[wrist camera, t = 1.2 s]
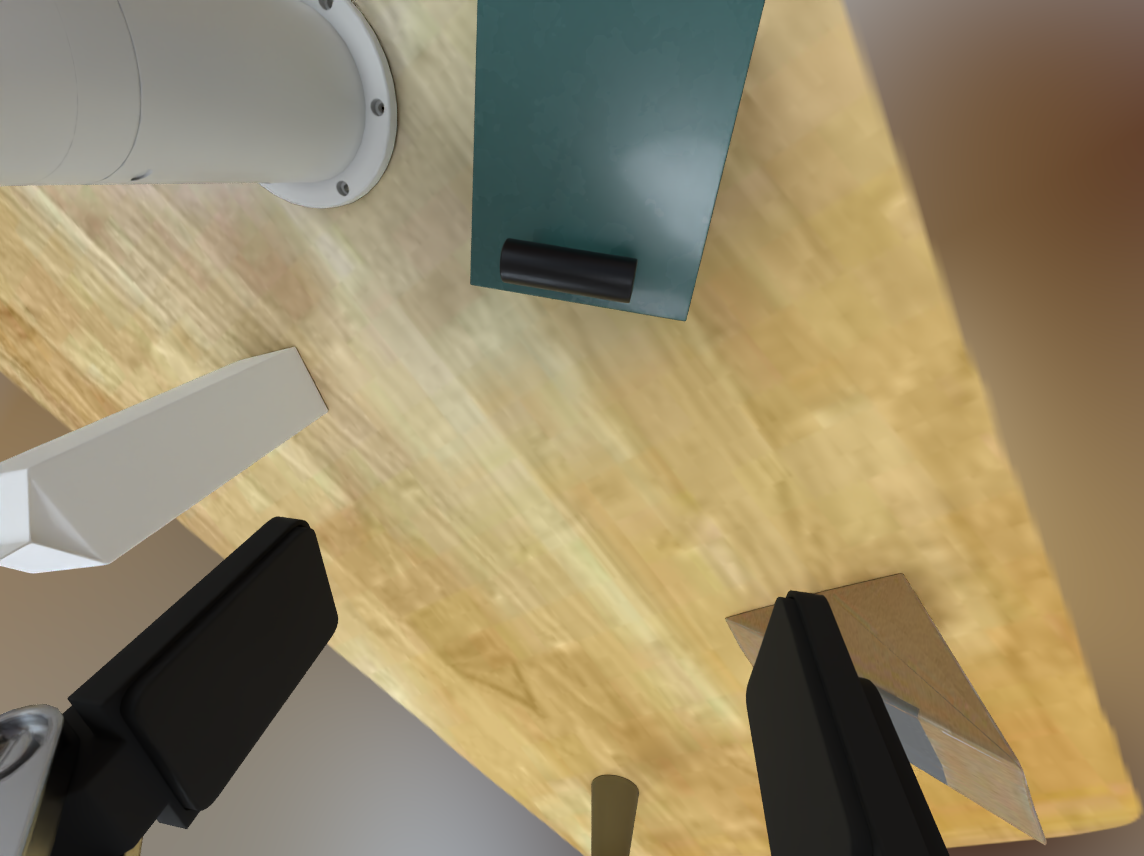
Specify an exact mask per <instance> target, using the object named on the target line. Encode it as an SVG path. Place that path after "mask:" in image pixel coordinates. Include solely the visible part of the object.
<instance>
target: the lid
mask: <svg viewBox="0 0 1144 856" xmlns="http://www.w3.org/2000/svg"><path fill="white" fill-rule="evenodd" d="M764 3H765V0H478V3H477V42H476V81H475V121H474V160H473V199H472V238H471V277H470V284H471V285H475V286H481V287H487V288H493V289H498V290H504V291H510V292H516V293H522V294H528V295H534V296H539V297H545V298H551V299H557V300H563V301H569V302H575V303H580V304H586V305H592V306H598V307H604V308H610V309H616V310H621V311H627V312H633V313H639V314H645V315H651V316H657V317H662V318H668V319H674V320H680V321H686V319H687V315H688V311H689V307H690V303H691V299H692V295H693V291H694V287H695V282H696V278H697V274H698V270H699V266H700V262H701V258H702V254H703V250H704V246H705V242H706V238H707V234H708V230H709V226H710V222H711V218H712V214H713V209H714V205H715V201H716V197H717V193H718V189H719V185H720V181H721V177H722V173H723V169H724V165H725V161H726V157H727V153H728V149H729V145H730V141H731V136H732V132H733V128H734V124H735V120H736V116H737V112H738V108H739V104H740V100H741V96H742V92H743V88H744V84H745V80H746V76H747V72H748V68H749V63H750V59H751V55H752V51H753V47H754V43H755V39H756V35H757V31H758V27H759V23H760V19H761V15H762V11H763V7H764Z"/></svg>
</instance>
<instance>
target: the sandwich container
mask: <svg viewBox="0 0 1144 856" xmlns="http://www.w3.org/2000/svg"><path fill="white" fill-rule="evenodd" d="M816 594H819V595H824V596H825V597H826V598H827V600H828V602H829V604H830V607H831V609H832V612H833V614H834V617H835V619H836V622H837V624H838V627H839V629H840V632H841V634H842V637H843V640H844V642H845V645H846V647H847V650H848V652H849V655H850V657H851V660H852V662H853V665H854V667H855V670H856V672H857V675H858V677H862V678H866V679H868V680H870V681H871V682H872V683H873V684H874V685H875V686H876V688H877V689H878V691H879V693H880V695H881V697H882V699H883V702H884V704H885V706H886V709H887V711H888V713H889V716H890V718H891V720H892V723H893V725H894V727H895V730H896V732H897V734H898V737H899V739H900V741H901V744H902V746H903V748H904V751H905V753H906V755H907V758H908V760H909V762H910V763H912V764H913V765H915V766H916V767H918V768H920V769H921V770H923V771H925V772H926V773H928V774H930V775H931V776H933V777H934V778H936V779H938V780H939V781H941V782H943V783H944V784H946V785H948V786H949V787H951V788H952V789H954V790H956V791H957V792H959V793H961V794H962V795H964V796H965V797H967V798H969V799H970V800H972V801H974V802H975V803H977V804H978V805H980V806H982V807H983V808H985V809H987V810H988V811H990V812H992V813H993V814H995V815H996V816H998V817H1000V818H1001V819H1003V820H1005V821H1006V822H1008V823H1009V824H1011V825H1013V826H1014V827H1016V828H1018V829H1019V830H1021V831H1023V832H1024V833H1026V834H1027V835H1029V836H1031V837H1032V838H1034V839H1036V840H1037V841H1039V842H1040V843H1042V844H1044V845H1046V843H1047V842H1046V838H1045V836H1044V833H1043V830H1042V827H1041V825H1040V822H1039V819H1038V816H1037V814H1036V811H1035V808H1034V805H1033V801H1032V798H1031V795H1030V792H1029V788H1028V785H1027V782H1026V779H1025V775H1024V772H1023V769H1022V767H1021V765H1020V763H1019V761H1018V759H1017V757H1016V756H1015V754H1014V752H1013V751H1012V749H1011V748H1010V746H1009V744H1008V743H1007V741H1006V740H1005V738H1004V736H1003V735H1002V733H1001V731H1000V730H999V728H998V727H997V725H996V723H995V722H994V720H993V718H992V717H991V715H990V714H989V712H988V710H987V709H986V707H985V705H984V704H983V702H982V701H981V699H980V697H979V696H978V694H977V692H976V691H975V689H974V688H973V686H972V684H971V683H970V681H969V679H968V678H967V676H966V675H965V673H964V671H963V670H962V668H961V667H960V665H959V663H958V662H957V660H956V658H955V657H954V655H953V654H952V652H951V650H950V649H949V647H948V645H947V644H946V642H945V641H944V639H943V637H942V636H941V634H940V633H939V631H938V629H937V628H936V626H935V624H934V623H933V621H932V620H931V618H930V616H929V615H928V613H927V611H926V610H925V608H924V607H923V605H922V603H921V602H920V600H919V599H918V597H917V595H916V594H915V592H914V591H913V589H912V587H911V586H910V584H909V582H908V581H907V579H906V578H905V576H904V574H897V575H892V576H888V577H884V578H879V579H875V580H871V581H866V582H862V583H858V584H853V585H849V586H845V587H841V588H836V589H832V590H828V591H823V592H820V593H816ZM773 608H774V605H772V606H768V607H765V608H761V609H757V610H753V611H750V612H746V613H742V614H739V615H735V616H731V617H728V618H725V619H726V622H727V623H728V625H729V627H730V629H731V631H732V633H733V635H734V637H735V639H736V640H737V642H738V644H739V646H740V648H741V649H742V651H743V652H744V654H745V655H746V657H747V658H748V660H749V661H750V663H751V664H752V666H753V667H754V664H755V661H756V658H757V655H758V652H759V649H760V647H761V644H762V641H763V638H764V635H765V632H766V629H767V626H768V623H769V620H770V617H771V614H772V611H773Z"/></svg>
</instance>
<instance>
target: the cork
mask: <svg viewBox="0 0 1144 856" xmlns="http://www.w3.org/2000/svg"><path fill="white" fill-rule="evenodd" d="M638 796H639V791H638V788H637V787H636V785H635V784H633V783H632V782H631V781H629V780H627V779H625V778H622V777H619V776H613V775H604V776H600V777H597V778H595V779H594V780H593V782H592V838H591V856H629V853H630V847H631V841H632V834H633V828H634V821H635V815H636V809H637V802H638Z"/></svg>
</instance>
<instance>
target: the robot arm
mask: <svg viewBox="0 0 1144 856" xmlns="http://www.w3.org/2000/svg"><path fill="white" fill-rule="evenodd" d="M332 1H333V5H332ZM383 105H384V108H385V109H384V113H383V112H382V106H383ZM396 131H397V103H396V96H395V89H394V83H393V79H392V75H391V72H390V69H389V66H388V62H387V59H386V56H385V54H384V52H383V50H382V48H381V45H380V43H379V41H378V39H377V37H376V35H375V33H374V31H373V30H372V28H371V27H370V25H369V24H368V22H367V21H366V19H365V17H364V16H363V14H362V13H361V12H360V11H359V9H358V8H357V7H356V6H355V5H354V4H353V3H352V2H351V0H0V186H27V185H114V184H206V183H258V184H260V185H261V186H263V187H264V188H265V189H267V190H268V191H270V192H271V193H272V194H274V195H276V196H278V197H280V198H282V199H284V200H286V201H288V202H290V203H293V204H297V205H300V206H304V207H308V208H331V207H340V206H343V205H346V204H349V203H352V202H354V201H356V200H358V199H359V198H361V197H362V196H364V195H365V194H367V193H368V192H369V191H370V190H371V189H372V188H373V187H374V186H375V185H376V184H377V183H378V181H379V180H380V178H381V176H382V175H383V173H384V171H385V170H386V168H387V166H388V163H389V160H390V157H391V155H392V152H393V149H394V143H395V137H396ZM347 187H349V190H348V188H347ZM337 624H338V614H337V611H336V607H335V603H334V600H333V596H332V592H331V589H330V585H329V581H328V578H327V574H326V570H325V567H324V563H323V559H322V556H321V552H320V548H319V545H318V541H317V537H316V534H315V532H314V530H313V529H311V528H310V526H309V524H308V523H307V522H306V521H305V520H299V519H292V518H285V517H274V518H272V519H271V520H269V521H268V522H267V523H266V524H264V525H263V526H262V527H261V528H260V529H259V530H258V531H256V532H255V533H254V534H253V535H252V536H251V537H250V538H249V539H247V540H246V541H245V542H244V543H243V544H242V545H241V546H239V547H238V548H237V549H236V550H235V551H234V552H233V553H231V554H230V555H229V556H228V557H227V558H226V559H225V560H224V561H222V562H221V563H220V564H219V565H218V566H217V567H216V568H214V569H213V570H212V571H211V572H210V573H209V574H208V575H207V576H205V577H204V578H203V579H202V580H201V581H200V582H199V583H197V584H196V585H195V586H194V587H193V588H192V589H191V590H190V591H188V592H187V593H186V594H185V595H184V596H183V597H182V598H181V599H179V600H178V601H177V602H176V603H175V604H174V605H173V606H171V607H170V608H169V609H168V610H167V611H166V612H165V613H163V614H162V615H161V616H160V617H159V618H158V619H157V620H155V621H154V622H153V623H152V624H151V625H150V626H149V627H148V628H146V629H145V630H144V631H143V632H142V633H141V634H140V635H138V636H137V638H135V639H134V640H133V641H132V642H131V643H130V644H128V645H127V646H126V647H125V648H124V649H123V650H122V651H120V652H119V653H118V654H117V655H116V656H115V657H114V658H112V659H111V660H110V661H109V662H108V663H107V664H106V665H105V666H103V667H102V668H101V669H100V670H99V671H98V672H96V673H95V674H94V675H93V676H92V677H91V678H90V679H89V680H87V681H86V682H85V683H84V684H83V685H82V686H81V687H80V688H78V689H77V690H76V691H75V692H74V693H73V694H72V695H70V696H69V697H68V700H69V702H70V703H71V704H72V706H71V707H70V708H69V709H67V710H66V711H65V712H64V713H63V714H62V713H61V712H60V711H59V709H58V708H56V707H53V706H50V705H47V704H40V705H29V706H25V707H21V708H17V709H13V710H11V711H8V712H6V713H3V714H1V715H0V856H140V853H141V846H142V839H143V836H144V834H145V833H146V832H147V830H148V829H149V828H150V827H151V825H152V824H153V823H154V821H155V820H156V819H157V820H158V822H159V823H163V824H167V825H172V826H176V827H180V828H185V829H187V828H188V827H189V826H190V824H191V823H192V822H193V820H194V819H195V817H196V816H197V815H198V813H199V812H200V811H201V810H204V809H206V808H208V807H209V806H210V805H211V804H212V803H213V802H214V801H215V800H216V798H217V797H218V796H219V794H220V793H221V792H222V790H223V789H224V787H225V786H226V785H227V783H228V782H229V780H230V779H231V777H232V776H233V775H234V773H235V772H236V771H237V769H238V767H239V766H240V765H241V764H242V762H243V761H244V759H245V758H246V756H247V755H248V754H249V752H250V751H251V749H252V748H253V747H254V745H255V744H256V742H257V741H258V740H259V738H260V737H261V735H262V734H263V733H264V731H265V730H266V728H267V727H268V726H269V724H270V723H271V721H272V720H273V718H274V717H275V716H276V714H277V713H278V711H279V710H280V709H281V707H282V705H283V704H284V703H285V702H286V700H287V699H288V697H289V696H290V695H291V693H292V692H293V690H294V689H295V688H296V686H297V685H298V683H299V682H300V680H301V679H302V678H303V676H304V675H305V674H306V672H307V671H308V669H309V668H310V667H311V665H312V663H313V662H314V661H315V659H316V658H317V657H318V655H319V654H320V652H321V651H322V650H323V648H324V646H325V645H326V644H327V643H328V641H329V640H330V638H331V637H332V636H333V634H334V632H335V630H336V628H337ZM746 705H747V712H748V718H749V724H750V730H751V736H752V742H753V748H754V754H755V760H756V766H757V772H758V778H759V784H760V790H761V796H762V802H763V808H764V814H765V820H766V826H767V832H768V838H769V844H770V850H771V856H949V853H948V851H947V849H946V846H945V844H944V842H943V839H942V837H941V835H940V832H939V830H938V828H937V825H936V823H935V821H934V818H933V816H932V814H931V811H930V809H929V807H928V804H927V802H926V800H925V797H924V795H923V793H922V790H921V788H920V786H919V783H918V781H917V779H916V776H915V774H914V772H913V769H912V767H911V765H910V762H909V760H908V758H907V755H906V753H905V751H904V748H903V746H902V744H901V741H900V739H899V737H898V734H897V732H896V730H895V727H894V725H893V723H892V720H891V718H890V716H889V713H888V711H887V709H886V706H885V704H884V702H883V699H882V697H881V695H880V693H879V691H878V689H877V688H876V686H875V685H874V684H873V683H872V682H871V681H870V680H868V679H866V678H862V677H858V675H857V672H856V670H855V667H854V665H853V662H852V660H851V657H850V655H849V652H848V650H847V647H846V645H845V642H844V640H843V637H842V634H841V632H840V629H839V627H838V624H837V622H836V619H835V617H834V614H833V612H832V609H831V607H830V604H829V602H828V600H827V598H826V597H825V596H824V595H819V594H812V593H805V592H798V591H789V592H788V594H787V596H786V598H784V597H778V598H777V600H776V602H775V605H774V608H773V611H772V614H771V617H770V620H769V623H768V626H767V629H766V632H765V635H764V638H763V641H762V644H761V647H760V649H759V652H758V655H757V658H756V661H755V664H754V667H753V670H752V673H751V676H750V679H749V682H748V685H747V691H746Z"/></svg>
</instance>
